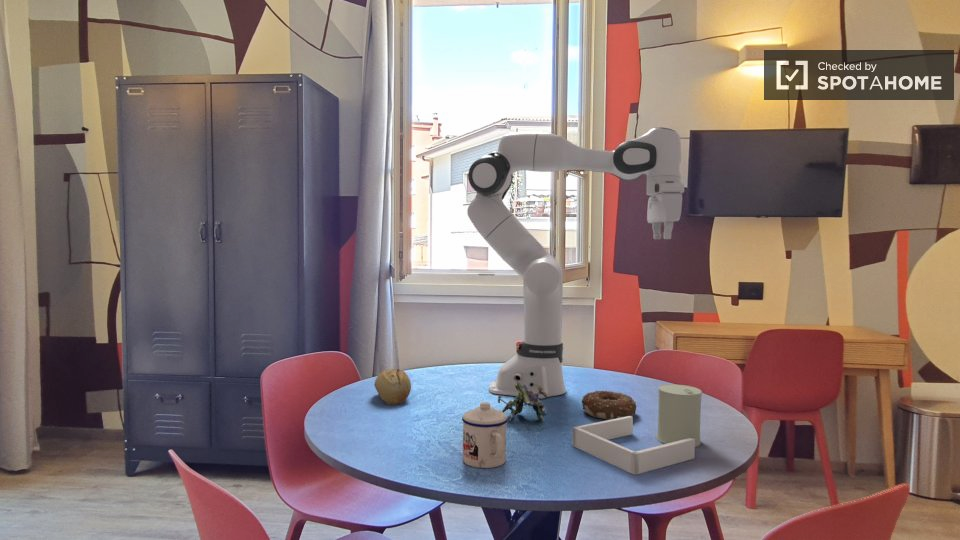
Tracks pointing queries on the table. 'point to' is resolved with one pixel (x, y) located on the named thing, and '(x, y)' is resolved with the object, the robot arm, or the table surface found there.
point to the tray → (598, 445)
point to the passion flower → (526, 401)
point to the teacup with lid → (484, 437)
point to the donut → (608, 405)
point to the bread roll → (393, 386)
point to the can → (679, 413)
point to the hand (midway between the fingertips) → (662, 239)
